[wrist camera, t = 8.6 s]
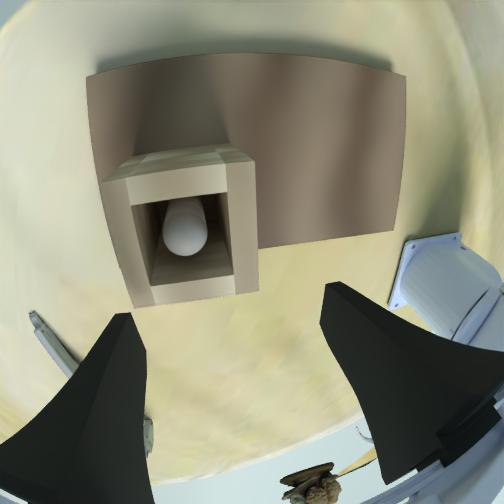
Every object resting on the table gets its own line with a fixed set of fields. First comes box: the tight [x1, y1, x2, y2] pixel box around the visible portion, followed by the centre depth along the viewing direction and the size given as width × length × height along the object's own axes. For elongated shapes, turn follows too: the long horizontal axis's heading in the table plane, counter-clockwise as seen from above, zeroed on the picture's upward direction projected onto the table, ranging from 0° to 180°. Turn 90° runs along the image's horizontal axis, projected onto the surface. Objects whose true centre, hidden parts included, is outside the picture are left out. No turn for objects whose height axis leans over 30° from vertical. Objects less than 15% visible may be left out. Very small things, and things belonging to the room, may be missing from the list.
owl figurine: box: [280, 462, 342, 504], centre depth 52 cm, size 18×12×17 cm, turn 99°
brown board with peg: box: [86, 53, 406, 269], centre depth 13 cm, size 20×12×7 cm, turn 92°
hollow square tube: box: [99, 143, 259, 308], centre depth 12 cm, size 5×5×6 cm
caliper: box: [29, 312, 153, 458], centre depth 20 cm, size 20×1×6 cm, turn 19°
